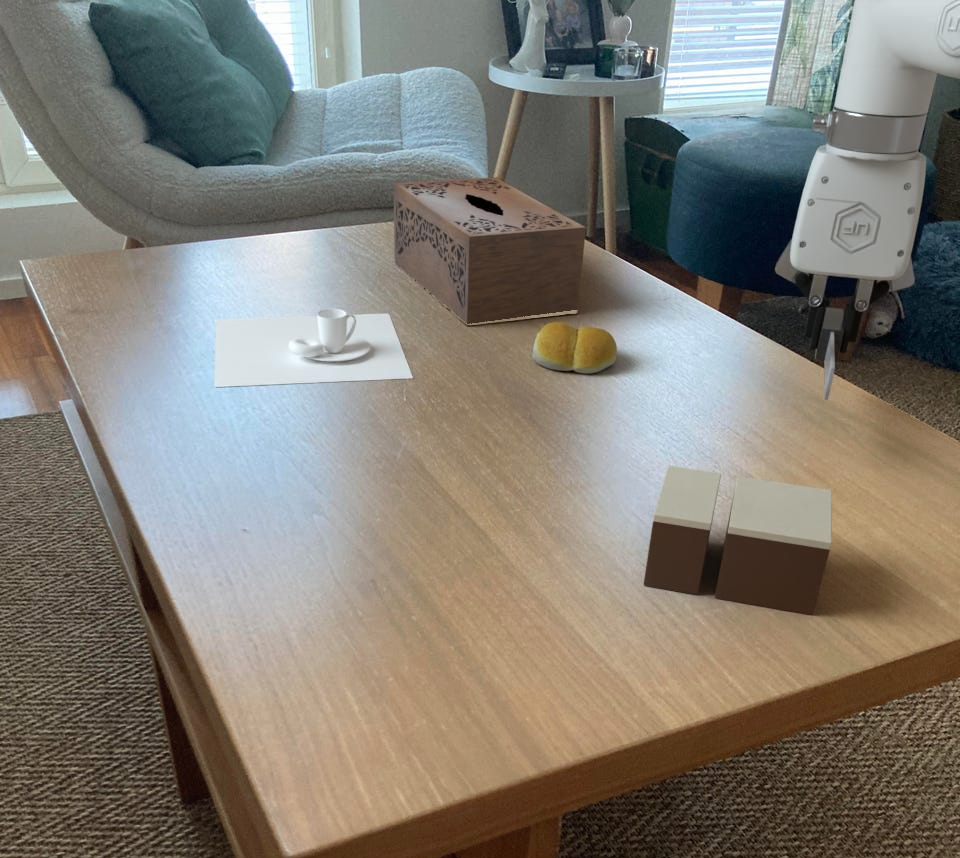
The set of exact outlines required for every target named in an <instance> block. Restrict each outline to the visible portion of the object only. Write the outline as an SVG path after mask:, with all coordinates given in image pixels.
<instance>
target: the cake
mask: <svg viewBox="0 0 960 858" xmlns="http://www.w3.org/2000/svg"><path fill="white" fill-rule="evenodd" d="M832 544H833V490H832V489H828V488H827V489H826V488H819V487H814V486H813V487H812V486H806V485H800V484H794V483H787V482H781V481H774V480H766V479H761V478H754V477H747V476H740V475H737V476H736V481H735V486H734V491H733V496H732V500H731V507H730V511H729V515H728V521H727V525H726V532H725V536H724V542H723V545H722V551H721V552H722V554H721V558H720V564H719V569H718V575H717V581H716V582H717V583H716V587H715V594H714V599H717V600H718V599H719V600H724V601H728V602H729V601H730V602H736V603H741V604H746V605H747V604H748V605H751V606H752V605H753V606H758V607H763V608H769V609H775V610H781V611H786V612H793V613H799V614H804V615H808V616H809V615H811V616H812V615H813V614H814V610H815V606H816V603H817V599H818V595H819V592H820V588H821V585H822V580H823V577H824V574H825V570H826V566H827V562H828V558H829V556H830V551H831V547H832Z"/></svg>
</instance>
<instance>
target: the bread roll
mask: <svg viewBox="0 0 960 858" xmlns="http://www.w3.org/2000/svg"><path fill="white" fill-rule="evenodd" d="M617 355H618V346H617V343H616V340H615V339H614V336H613V335H612V334H611V333H610V332H608V331H607V330H606V329H604V328H599V327H593V326H579V327H578V328H575V327H574V326H572V325H570V324H569V323H567V322H560V321H553V322H549V323H547V324H545V325H544V326H543V327H542V328H541V329H540V330H539V331H538V332H537V333H536V336H535V339H534V343H533V347H532V360H533V361H534V362H535V363H536V364H537V365H539V366H542V367H544V368H546V369H549V370H553V371H561V372H562V371H563V372H571V371H574V372H575V373H578V374H579V373H580V374H585V375H586V374H594V373H599V372H601V371H603V370H605V369H608V368H609V367H610V366H613V365H614V363H616V360H617Z"/></svg>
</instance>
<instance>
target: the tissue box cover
mask: <svg viewBox="0 0 960 858" xmlns="http://www.w3.org/2000/svg"><path fill="white" fill-rule="evenodd" d="M586 229H587V228H586V226H584V225H582V224H581V223H579V222H577V221H576V220H574V219H571V218H570V217H568V216H566V215H565V214H562V213H561V212H559V211H558V210H556V209H554V208H552V207H551V206H549V205H547V204H545V203H543V202H542V201H540V200H538V199H536V198H534V197H533V196H530V195H529V194H527V193H525V192H523V191H522V190H520V189H519V188H516V187H515V186H513V185H511V184H509V183H508V182H506V181H504V180H502V179H500V178H499V177H497V176H496V177H495V176H494V177H478V178H477V177H476V178H462V179H447V180H445V179H444V180H430V181H427V180H426V181H411V182H398V183H397V182H395V183H394V182H393V235H394V236H393V239H394V240H393V241H394V264H395V263H396V264H397V265H398V267H399V266H400V267H401V268H402V269H403V270H404V271H405V272H406V273H405V272H404V271H403V270H402V269H401V268H400V267H399V268H400V269H401V270H402V271H403V272H404V273H405V274H407V275H408V274H409V275H410V276H411V277H412V278H414V279H415V280H416V281H417V282H418V283H419V284H421V285H422V286H423V287H424V288H425V289H427V290H428V291H429V292H430V293H431V294H432V295H434V296H435V297H436V298H437V299H438V300H440V301H441V302H442V303H443V304H445V305H446V306H447V307H448V308H449V309H450V310H452V311H453V312H454V313H455V314H456V315H457V316H459V317H460V318H461V319H462V320H463V321H465V323H467V324H470V323H471V324H472V323H479V322H485V321H486V322H487V321H495V320H502V319H510V318H517V317H523V316H524V317H525V316H531V315H540V314H547V313H548V314H549V313H556V312H563V311H571V310H578V311H579V308H580V295H581V285H582V276H583V275H582V273H583V265H584V263H583V262H584V252H585V251H584V250H585V241H586V231H587V230H586ZM396 264H395V265H396ZM397 265H396V266H397ZM409 275H408V276H409ZM410 276H409V277H410ZM411 277H410V278H411ZM412 278H411V279H412ZM415 280H414V281H415ZM416 281H415V282H416ZM417 282H416V283H417ZM418 283H417V284H418ZM419 284H418V285H419ZM424 288H423V289H424ZM425 289H424V290H425ZM432 295H431V296H432Z"/></svg>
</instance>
